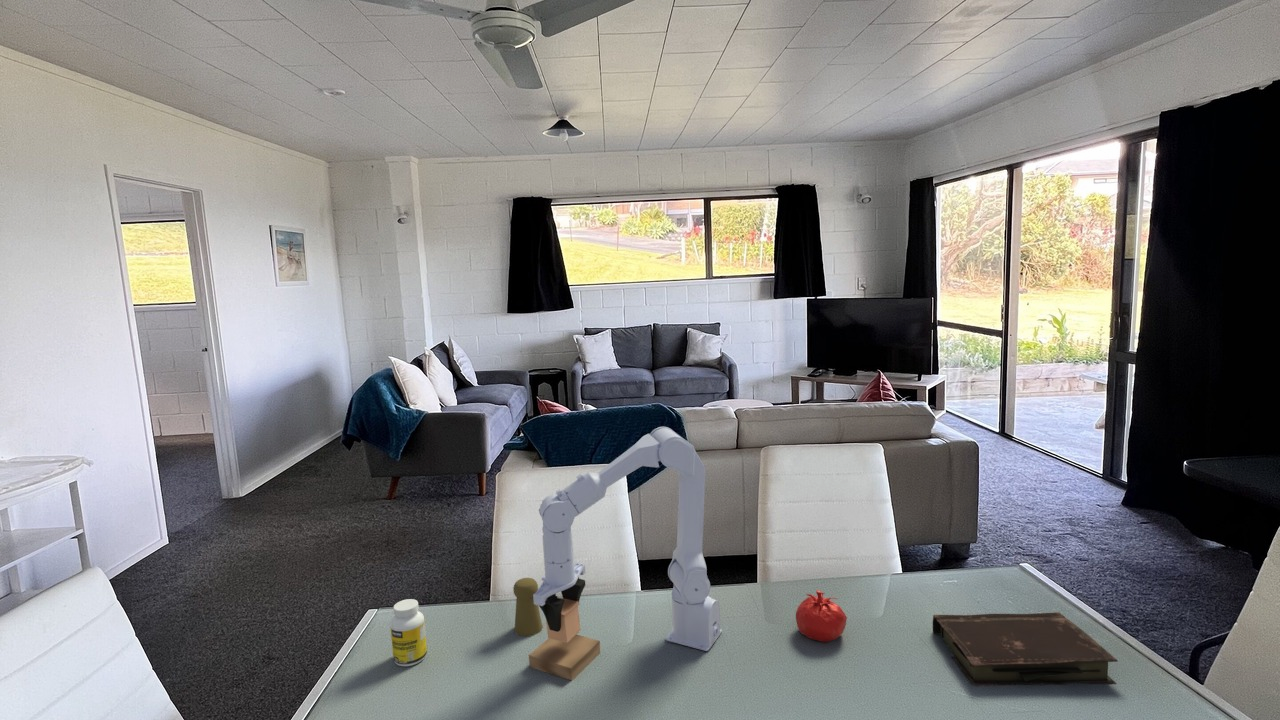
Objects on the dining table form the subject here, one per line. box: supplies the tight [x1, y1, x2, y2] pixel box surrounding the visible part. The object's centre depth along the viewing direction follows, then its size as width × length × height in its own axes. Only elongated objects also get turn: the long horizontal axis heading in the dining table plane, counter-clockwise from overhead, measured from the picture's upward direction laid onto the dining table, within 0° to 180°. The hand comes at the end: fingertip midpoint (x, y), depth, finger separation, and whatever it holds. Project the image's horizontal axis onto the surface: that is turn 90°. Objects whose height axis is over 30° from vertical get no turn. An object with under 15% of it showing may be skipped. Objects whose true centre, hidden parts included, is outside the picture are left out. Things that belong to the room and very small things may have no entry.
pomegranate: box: [795, 589, 847, 643], centre depth 134 cm, size 10×10×9 cm
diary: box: [932, 611, 1118, 687], centre depth 124 cm, size 19×25×5 cm
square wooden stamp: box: [545, 596, 581, 643], centre depth 129 cm, size 5×5×6 cm
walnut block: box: [528, 633, 601, 681], centre depth 129 cm, size 10×10×2 cm
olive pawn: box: [512, 577, 544, 637], centre depth 141 cm, size 6×6×11 cm
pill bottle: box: [389, 598, 428, 667], centre depth 132 cm, size 6×6×12 cm
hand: (563, 622), depth 129 cm, fingers closed on square wooden stamp, 5 cm apart
